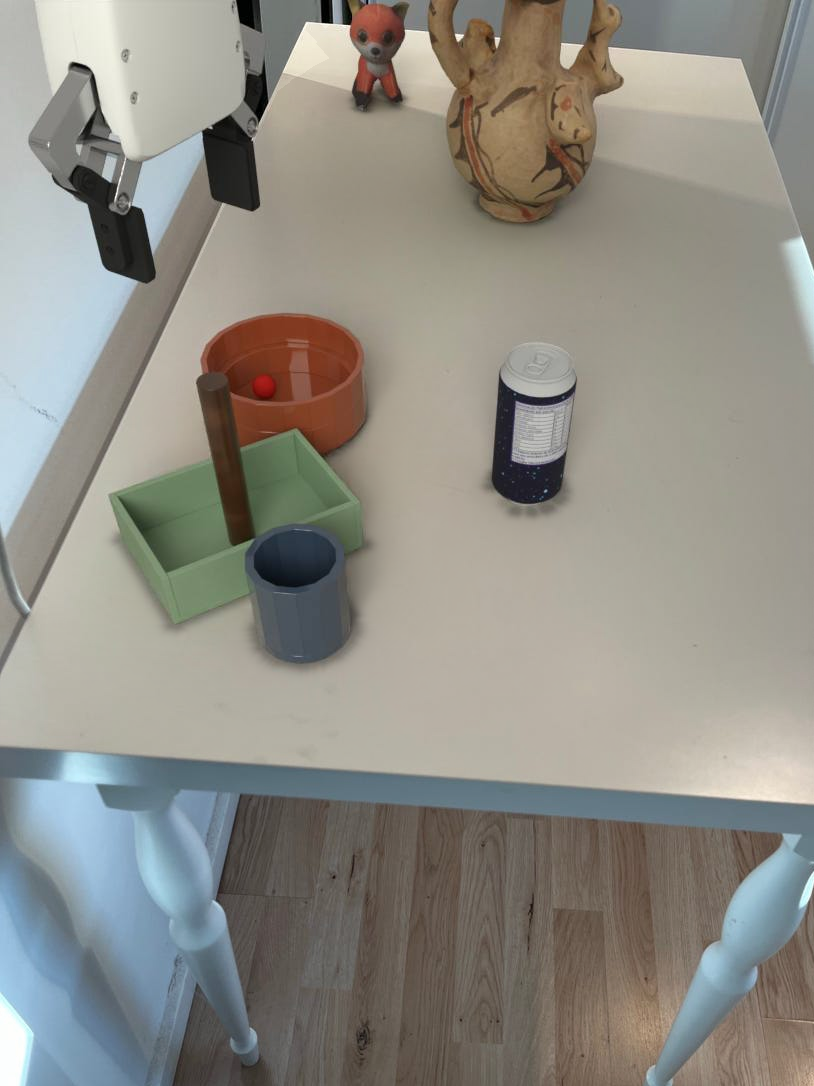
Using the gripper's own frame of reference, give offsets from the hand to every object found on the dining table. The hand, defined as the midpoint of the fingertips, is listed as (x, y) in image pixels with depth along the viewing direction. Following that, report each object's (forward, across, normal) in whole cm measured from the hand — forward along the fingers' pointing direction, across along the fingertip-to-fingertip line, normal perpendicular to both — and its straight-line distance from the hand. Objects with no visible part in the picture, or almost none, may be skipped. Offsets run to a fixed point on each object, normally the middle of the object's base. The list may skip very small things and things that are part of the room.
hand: (186, 237), depth 56 cm
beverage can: (+24, -16, +17) cm, 33 cm away
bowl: (+24, -14, -5) cm, 28 cm away
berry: (+22, -15, -8) cm, 27 cm away
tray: (+24, 0, +1) cm, 24 cm away
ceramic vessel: (+23, -60, -3) cm, 64 cm away
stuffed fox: (+23, -77, -32) cm, 87 cm away
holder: (+24, +5, +9) cm, 26 cm away
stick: (+23, 0, +1) cm, 23 cm away
